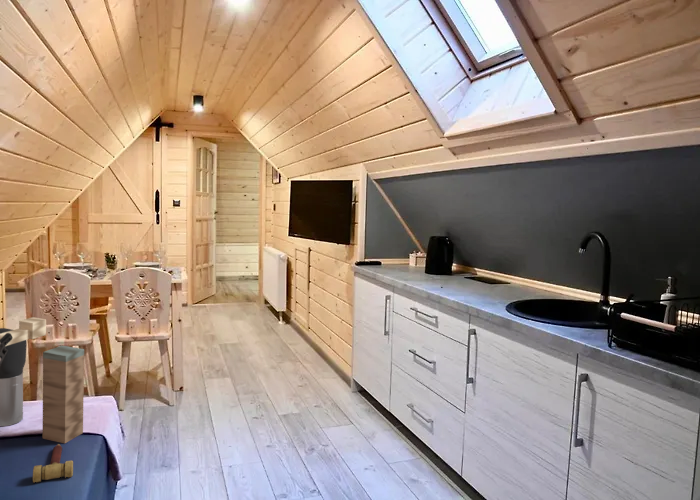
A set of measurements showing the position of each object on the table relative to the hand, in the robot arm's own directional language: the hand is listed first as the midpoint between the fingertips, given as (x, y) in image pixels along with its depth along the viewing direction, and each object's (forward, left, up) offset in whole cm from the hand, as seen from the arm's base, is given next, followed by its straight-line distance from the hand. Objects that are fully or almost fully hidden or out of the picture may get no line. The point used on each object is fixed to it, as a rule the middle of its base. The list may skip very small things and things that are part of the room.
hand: (5, 334), depth 148 cm
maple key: (+1, +3, -3) cm, 5 cm away
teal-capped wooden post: (+8, +21, -41) cm, 47 cm away
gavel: (+13, +3, -42) cm, 44 cm away
